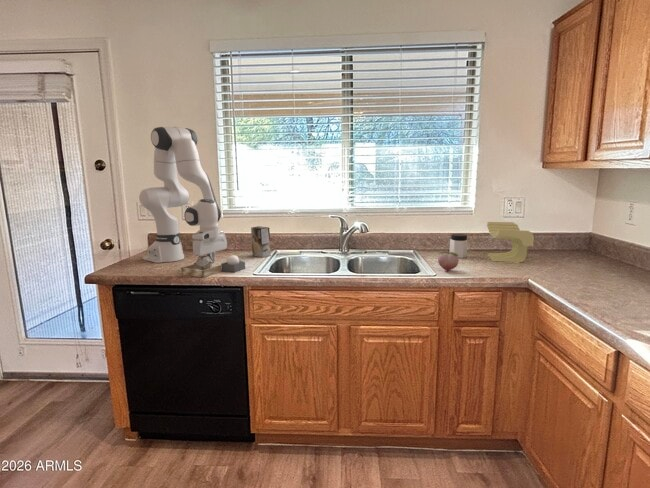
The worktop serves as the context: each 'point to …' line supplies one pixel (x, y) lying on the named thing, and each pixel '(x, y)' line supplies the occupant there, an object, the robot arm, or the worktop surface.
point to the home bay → (199, 271)
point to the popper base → (233, 266)
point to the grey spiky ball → (203, 262)
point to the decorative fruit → (448, 260)
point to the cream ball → (233, 260)
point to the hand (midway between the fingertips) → (212, 261)
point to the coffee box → (260, 241)
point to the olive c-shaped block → (515, 235)
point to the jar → (459, 244)
